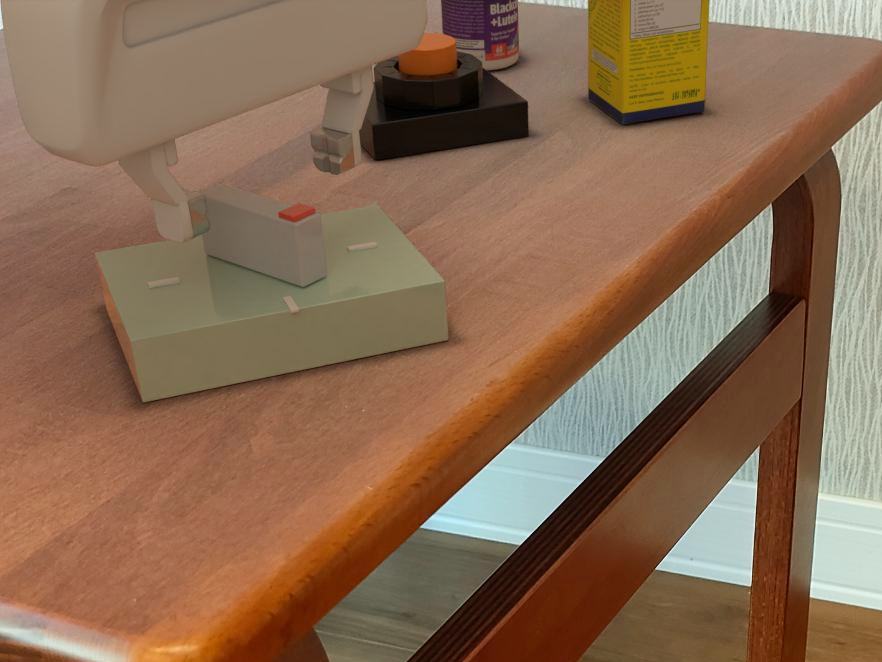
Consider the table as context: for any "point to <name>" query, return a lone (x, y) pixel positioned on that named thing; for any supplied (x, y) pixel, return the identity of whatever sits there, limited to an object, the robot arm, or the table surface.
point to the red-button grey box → (265, 234)
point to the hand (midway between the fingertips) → (265, 200)
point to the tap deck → (268, 307)
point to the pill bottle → (484, 29)
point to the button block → (439, 110)
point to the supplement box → (647, 57)
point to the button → (430, 56)
